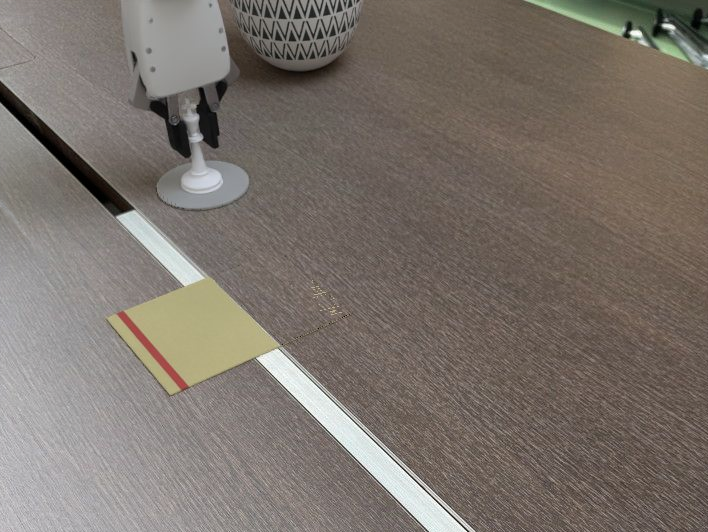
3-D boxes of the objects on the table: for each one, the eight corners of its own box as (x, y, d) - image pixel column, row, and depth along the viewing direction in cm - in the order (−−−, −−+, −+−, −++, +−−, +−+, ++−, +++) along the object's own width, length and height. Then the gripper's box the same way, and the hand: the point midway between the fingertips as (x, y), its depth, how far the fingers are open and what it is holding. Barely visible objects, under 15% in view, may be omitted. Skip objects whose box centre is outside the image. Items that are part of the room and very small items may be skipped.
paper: (170, 396, 76) (170, 394, 76) (106, 319, 84) (105, 317, 83) (351, 314, 84) (351, 313, 83) (277, 250, 91) (277, 249, 91)
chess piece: (224, 191, 99) (211, 105, 91) (182, 196, 98) (165, 110, 90) (221, 170, 102) (207, 86, 94) (180, 175, 101) (163, 90, 93)
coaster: (183, 221, 95) (182, 218, 95) (140, 181, 101) (140, 178, 101) (266, 190, 99) (266, 188, 99) (221, 153, 105) (220, 151, 105)
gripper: (218, -59, 88) (242, 116, 102) (70, -25, 82) (117, 157, 96) (255, -40, 84) (274, 140, 98) (102, -2, 78) (146, 184, 92)
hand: (196, 147), depth 96 cm, fingers open, 3 cm apart
